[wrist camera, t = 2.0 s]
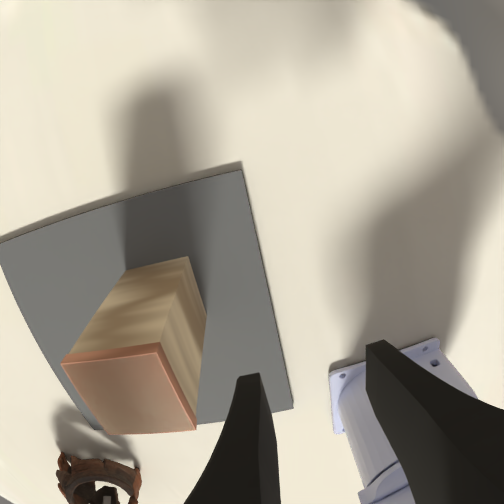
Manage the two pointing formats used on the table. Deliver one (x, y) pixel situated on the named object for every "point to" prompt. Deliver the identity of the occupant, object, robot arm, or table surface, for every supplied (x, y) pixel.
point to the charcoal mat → (150, 252)
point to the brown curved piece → (90, 470)
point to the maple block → (143, 352)
